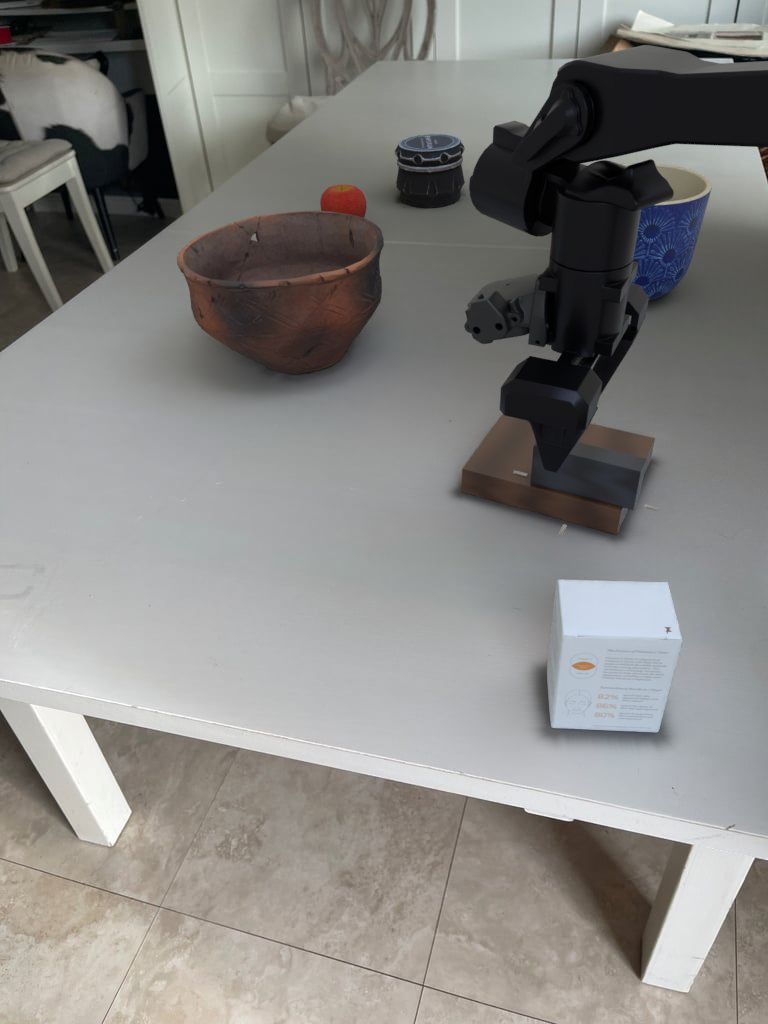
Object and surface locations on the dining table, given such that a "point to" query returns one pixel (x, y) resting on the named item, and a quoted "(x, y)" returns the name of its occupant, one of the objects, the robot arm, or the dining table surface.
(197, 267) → the bowl
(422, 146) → the container
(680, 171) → the planter
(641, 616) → the small box
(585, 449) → the grey block with red
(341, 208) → the apple
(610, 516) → the base
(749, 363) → the dining table surface
